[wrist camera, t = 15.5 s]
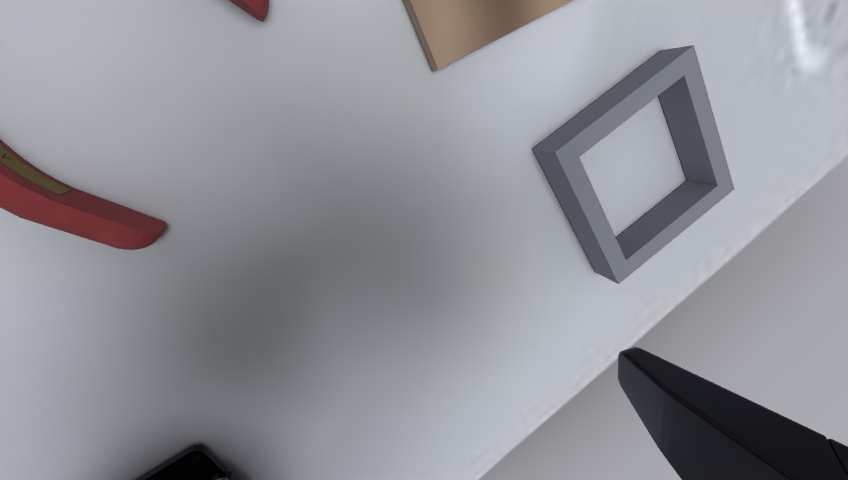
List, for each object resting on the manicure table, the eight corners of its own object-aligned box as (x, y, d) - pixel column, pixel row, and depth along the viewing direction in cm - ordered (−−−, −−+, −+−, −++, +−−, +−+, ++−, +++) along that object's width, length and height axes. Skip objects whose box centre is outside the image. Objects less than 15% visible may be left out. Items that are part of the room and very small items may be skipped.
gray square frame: (594, 271, 26) (618, 283, 24) (532, 148, 22) (555, 152, 20) (702, 183, 26) (734, 189, 24) (660, 50, 23) (693, 45, 21)
